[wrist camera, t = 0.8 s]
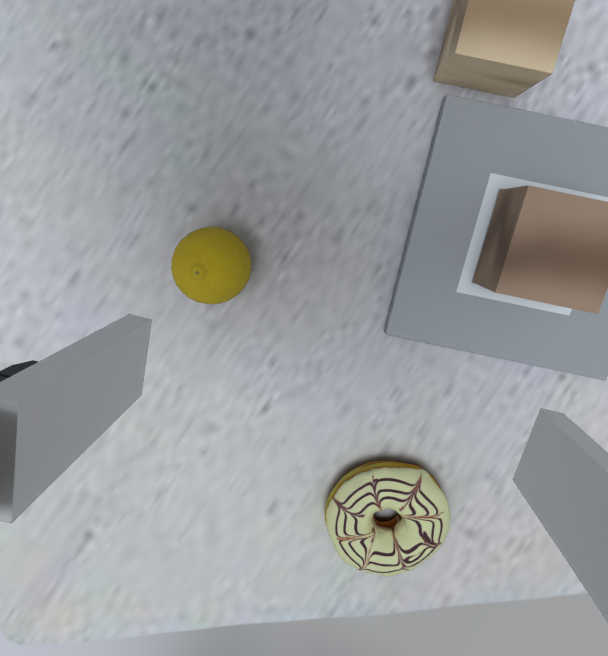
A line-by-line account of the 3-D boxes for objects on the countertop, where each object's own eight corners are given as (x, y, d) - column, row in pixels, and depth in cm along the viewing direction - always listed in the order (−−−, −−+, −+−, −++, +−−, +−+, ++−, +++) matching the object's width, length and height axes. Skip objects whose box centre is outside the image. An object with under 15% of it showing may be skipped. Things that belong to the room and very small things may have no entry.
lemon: (179, 267, 38) (139, 280, 30) (216, 211, 36) (184, 210, 29) (233, 307, 38) (208, 330, 30) (272, 253, 37) (256, 263, 29)
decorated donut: (456, 536, 43) (468, 567, 39) (345, 563, 44) (347, 595, 40) (426, 439, 40) (436, 461, 37) (311, 470, 42) (309, 495, 38)
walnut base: (500, 189, 34) (528, 185, 29) (593, 209, 34) (637, 208, 29) (472, 282, 35) (495, 292, 31) (561, 300, 35) (597, 314, 31)
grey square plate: (443, 98, 34) (447, 94, 32) (684, 148, 33) (697, 146, 32) (384, 330, 38) (385, 334, 37) (596, 375, 38) (605, 380, 37)
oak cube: (456, -12, 32) (484, -62, 26) (540, 6, 32) (587, -41, 26) (433, 81, 33) (455, 53, 28) (513, 98, 33) (552, 73, 28)
